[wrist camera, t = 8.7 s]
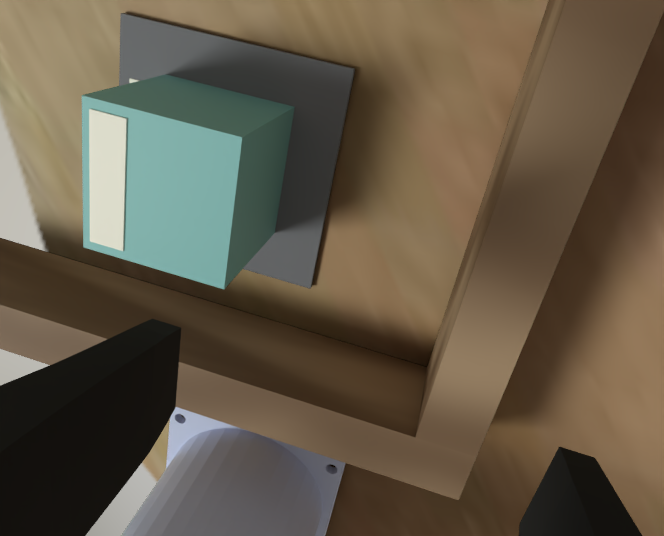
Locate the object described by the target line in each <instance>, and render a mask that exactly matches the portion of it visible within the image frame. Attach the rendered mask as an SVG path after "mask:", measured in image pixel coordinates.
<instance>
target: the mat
mask: <svg viewBox="0 0 664 536" xmlns="http://www.w3.org/2000/svg"><path fill="white" fill-rule="evenodd" d="M354 73H355V68H351V67H347V66H342V65H338V64H334V63H330V62H326V61H322V60H317V59H313V58H309V57H305V56H301V55H297V54H292V53H288V52H284V51H280V50H276V49H272V48H267V47H263V46H259V45H255V44H251V43H247V42H242V41H238V40H234V39H230V38H226V37H221V36H217V35H213V34H209V33H205V32H201V31H196V30H192V29H188V28H184V27H180V26H176V25H171V24H167V23H163V22H159V21H155V20H151V19H146V18H142V17H138V16H134V15H130V14H126V13H121V26H120V78H119V86H121V85H125V84H129V83H133V82H137V81H141V80H145V79H149V78H153V77H157V76H161V75H165V74H166V75H170V76H174V77H178V78H182V79H186V80H190V81H194V82H198V83H202V84H206V85H210V86H214V87H218V88H222V89H226V90H230V91H234V92H238V93H242V94H246V95H249V96H253V97H257V98H261V99H265V100H269V101H273V102H277V103H281V104H285V105H289V106H293V107H295V108H294V114H293V121H292V127H291V133H290V140H289V146H288V152H287V159H286V165H285V171H284V177H283V184H282V190H281V196H280V203H279V209H278V215H277V222H276V228H275V233H274V234H273V235H272V236H271V238H270V239H269V240H268V241H267V242H266V243H265V244H264V245H263V247H262V248H261V249H260V250H259V251H258V252H257V253H256V254H255V255H254V257H253V258H252V259H251V260H250V261H249V262H248V263H247V264H246V265H245V267H244V268H243V269H245V270H249V271H252V272H255V273H259V274H262V275H266V276H269V277H272V278H276V279H279V280H283V281H286V282H289V283H293V284H296V285H300V286H303V287H307V288H311V287H312V282H313V277H314V272H315V267H316V263H317V258H318V253H319V248H320V243H321V238H322V233H323V228H324V223H325V218H326V213H327V208H328V203H329V198H330V193H331V188H332V183H333V178H334V173H335V168H336V163H337V158H338V153H339V148H340V143H341V138H342V133H343V128H344V123H345V118H346V113H347V108H348V103H349V98H350V93H351V88H352V83H353V78H354Z"/></svg>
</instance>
